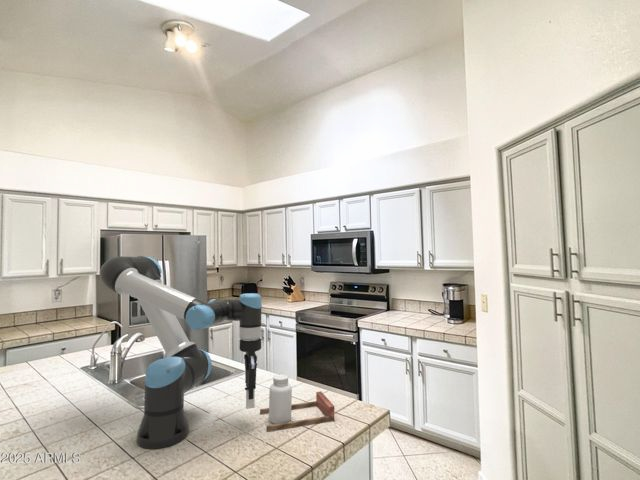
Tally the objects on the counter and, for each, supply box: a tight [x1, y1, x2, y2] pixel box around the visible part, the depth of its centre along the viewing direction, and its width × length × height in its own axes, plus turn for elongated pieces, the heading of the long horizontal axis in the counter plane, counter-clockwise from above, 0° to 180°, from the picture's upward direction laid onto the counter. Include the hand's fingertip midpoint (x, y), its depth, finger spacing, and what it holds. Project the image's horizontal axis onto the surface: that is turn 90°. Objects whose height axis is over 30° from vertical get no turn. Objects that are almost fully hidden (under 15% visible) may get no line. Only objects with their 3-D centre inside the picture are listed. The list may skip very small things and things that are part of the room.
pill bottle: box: [268, 373, 293, 425], centre depth 121 cm, size 8×8×15 cm
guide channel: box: [259, 391, 335, 433], centre depth 123 cm, size 24×14×5 cm, turn 109°
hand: (250, 407), depth 117 cm, fingers closed
